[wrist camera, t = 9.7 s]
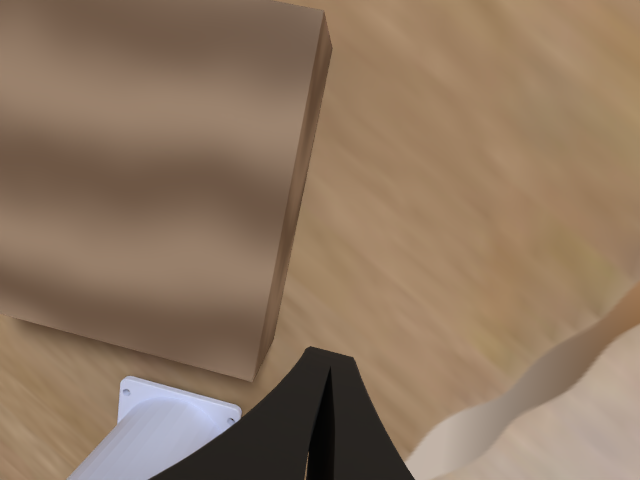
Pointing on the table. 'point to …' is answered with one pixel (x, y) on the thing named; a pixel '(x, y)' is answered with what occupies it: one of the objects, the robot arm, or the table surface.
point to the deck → (156, 169)
